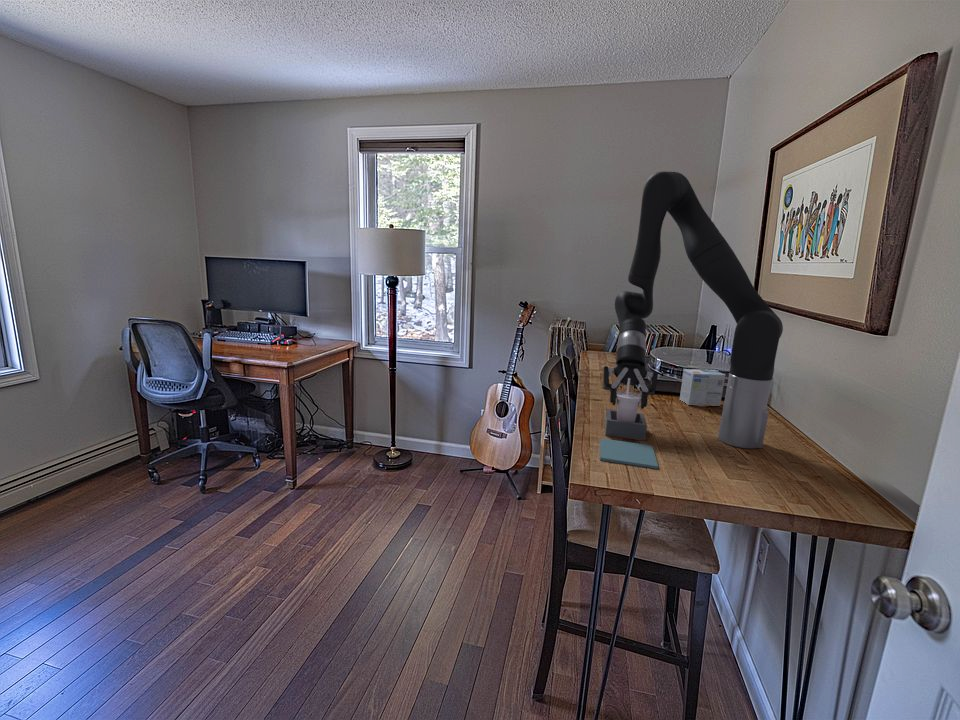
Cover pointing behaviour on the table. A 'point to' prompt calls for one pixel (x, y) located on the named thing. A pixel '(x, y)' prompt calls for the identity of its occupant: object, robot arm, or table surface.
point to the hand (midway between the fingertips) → (628, 405)
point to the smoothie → (627, 405)
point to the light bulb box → (702, 387)
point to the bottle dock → (625, 426)
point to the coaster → (627, 453)
